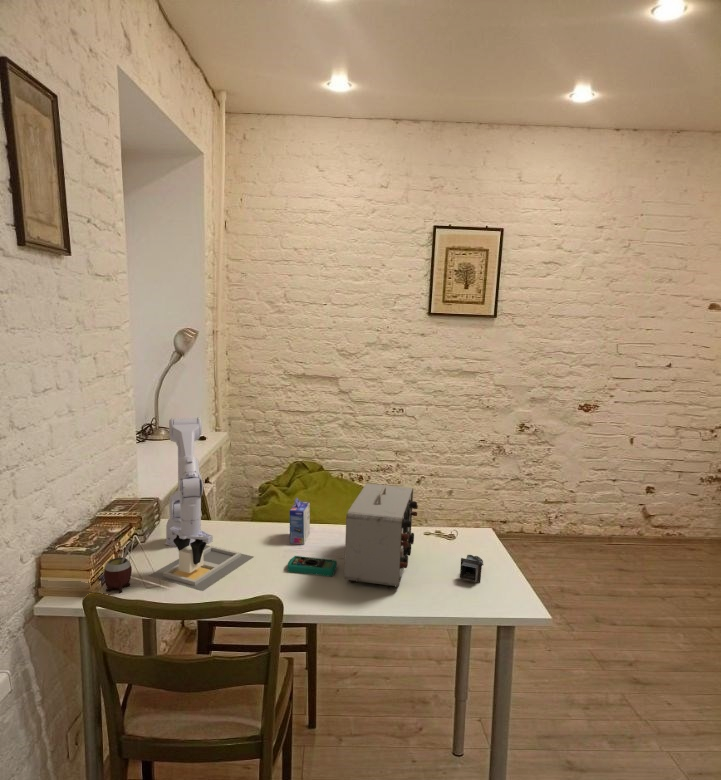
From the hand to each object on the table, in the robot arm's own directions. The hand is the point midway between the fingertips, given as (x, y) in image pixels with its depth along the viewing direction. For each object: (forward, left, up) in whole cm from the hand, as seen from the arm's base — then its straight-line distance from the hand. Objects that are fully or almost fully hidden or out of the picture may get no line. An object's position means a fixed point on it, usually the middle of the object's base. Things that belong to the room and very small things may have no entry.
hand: (190, 561), depth 159 cm
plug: (0, 0, -2) cm, 2 cm away
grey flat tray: (0, +6, -4) cm, 7 cm away
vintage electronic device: (+49, +33, -4) cm, 59 cm away
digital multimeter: (+30, +20, -5) cm, 37 cm away
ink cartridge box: (+15, +39, -4) cm, 42 cm away
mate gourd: (-12, -15, -4) cm, 20 cm away
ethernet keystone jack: (+76, +39, -5) cm, 86 cm away
